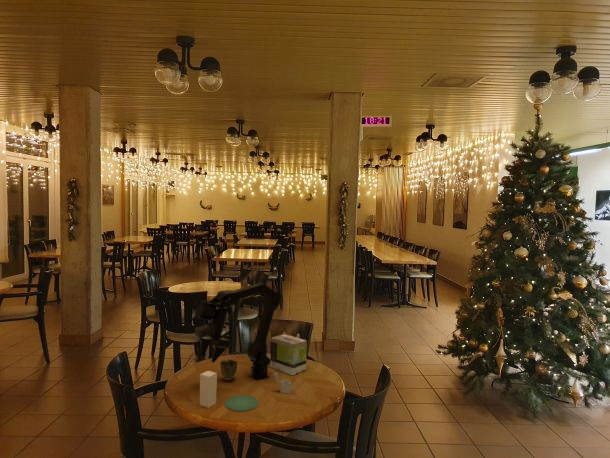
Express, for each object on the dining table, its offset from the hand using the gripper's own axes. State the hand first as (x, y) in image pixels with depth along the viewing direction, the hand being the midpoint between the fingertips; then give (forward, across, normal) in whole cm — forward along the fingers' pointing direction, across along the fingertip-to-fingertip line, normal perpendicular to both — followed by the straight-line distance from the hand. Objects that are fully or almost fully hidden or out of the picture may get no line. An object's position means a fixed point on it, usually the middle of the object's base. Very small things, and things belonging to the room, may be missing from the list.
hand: (207, 358), depth 177 cm
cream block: (+14, +11, -1) cm, 18 cm away
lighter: (+6, +19, +28) cm, 34 cm away
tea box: (+1, 0, +45) cm, 45 cm away
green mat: (+11, +18, +9) cm, 23 cm away
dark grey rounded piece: (+9, -5, +17) cm, 20 cm away
